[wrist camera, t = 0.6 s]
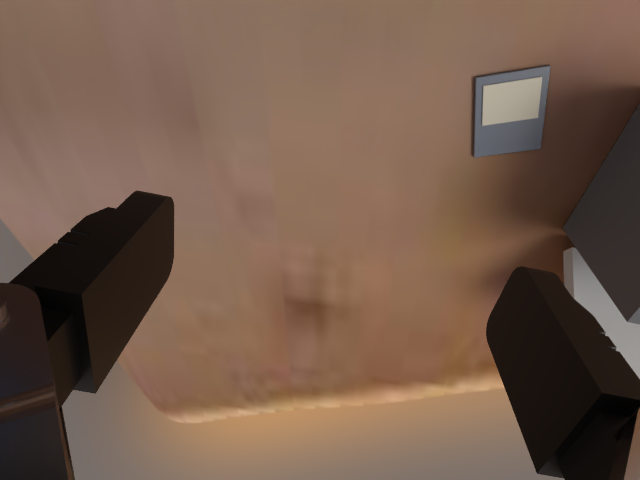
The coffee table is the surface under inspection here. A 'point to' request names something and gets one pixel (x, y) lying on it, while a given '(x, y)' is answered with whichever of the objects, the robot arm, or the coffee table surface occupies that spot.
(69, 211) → the coffee table surface
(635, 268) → the camera body
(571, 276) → the door
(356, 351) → the coffee table surface
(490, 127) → the memory card
